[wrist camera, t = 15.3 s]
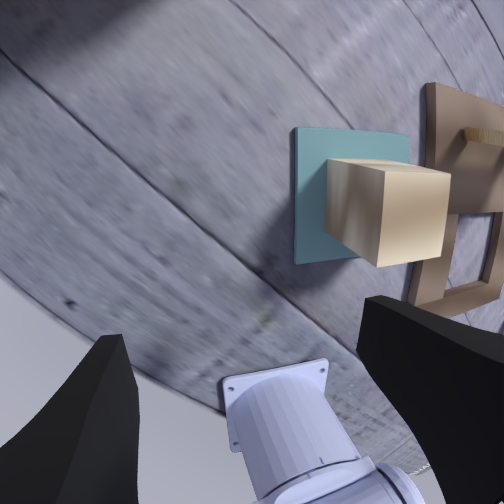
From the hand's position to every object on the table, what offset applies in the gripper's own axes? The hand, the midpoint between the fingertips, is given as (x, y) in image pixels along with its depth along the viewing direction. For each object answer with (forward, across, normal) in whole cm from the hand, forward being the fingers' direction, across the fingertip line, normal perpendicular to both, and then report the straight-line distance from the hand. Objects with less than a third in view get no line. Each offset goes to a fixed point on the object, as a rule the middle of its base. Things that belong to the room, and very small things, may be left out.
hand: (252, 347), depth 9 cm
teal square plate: (+10, -9, -2) cm, 14 cm away
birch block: (+10, -9, -2) cm, 13 cm away
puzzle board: (+10, -22, 0) cm, 24 cm away
